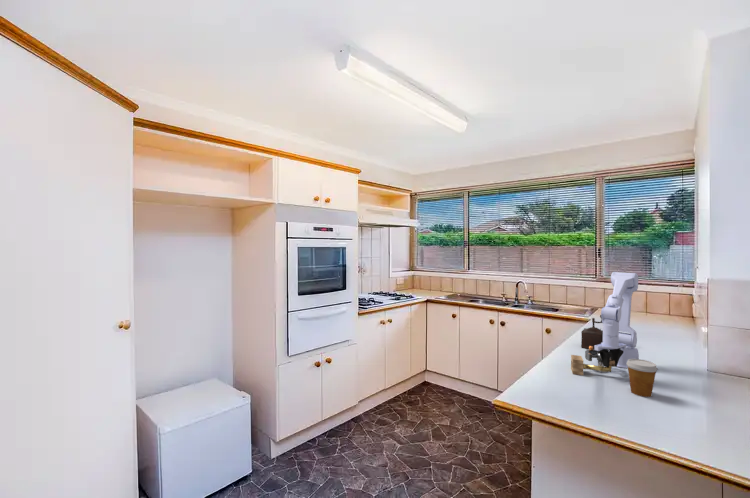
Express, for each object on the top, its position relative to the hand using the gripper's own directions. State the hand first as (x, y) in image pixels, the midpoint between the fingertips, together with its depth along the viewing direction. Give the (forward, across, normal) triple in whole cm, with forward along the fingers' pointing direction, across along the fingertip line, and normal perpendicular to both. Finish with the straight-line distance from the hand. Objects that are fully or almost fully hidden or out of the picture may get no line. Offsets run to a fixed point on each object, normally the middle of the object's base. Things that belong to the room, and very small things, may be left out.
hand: (610, 366), depth 150 cm
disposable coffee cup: (+5, +3, +16) cm, 17 cm away
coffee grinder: (+5, -29, -38) cm, 48 cm away
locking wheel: (0, -3, -8) cm, 9 cm away
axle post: (+5, -3, -7) cm, 9 cm away
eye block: (+5, +10, -7) cm, 13 cm away
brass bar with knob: (+3, +4, -3) cm, 5 cm away
